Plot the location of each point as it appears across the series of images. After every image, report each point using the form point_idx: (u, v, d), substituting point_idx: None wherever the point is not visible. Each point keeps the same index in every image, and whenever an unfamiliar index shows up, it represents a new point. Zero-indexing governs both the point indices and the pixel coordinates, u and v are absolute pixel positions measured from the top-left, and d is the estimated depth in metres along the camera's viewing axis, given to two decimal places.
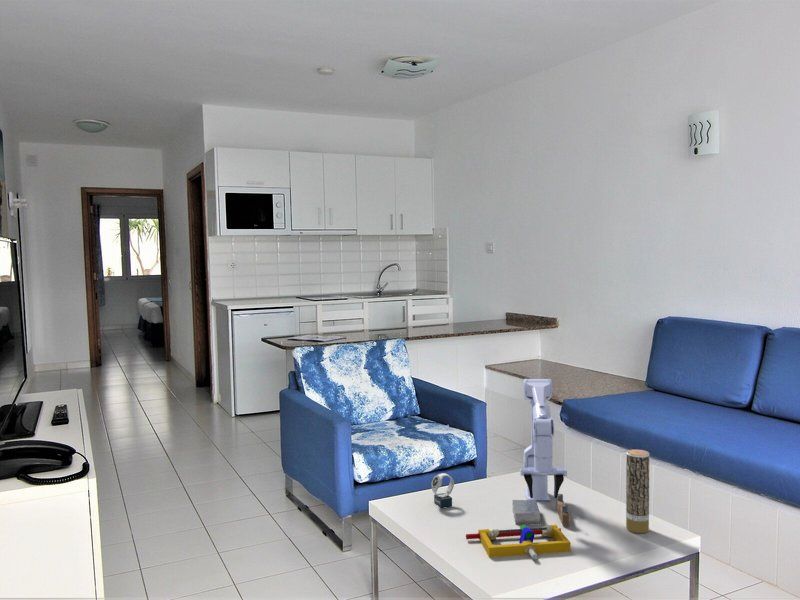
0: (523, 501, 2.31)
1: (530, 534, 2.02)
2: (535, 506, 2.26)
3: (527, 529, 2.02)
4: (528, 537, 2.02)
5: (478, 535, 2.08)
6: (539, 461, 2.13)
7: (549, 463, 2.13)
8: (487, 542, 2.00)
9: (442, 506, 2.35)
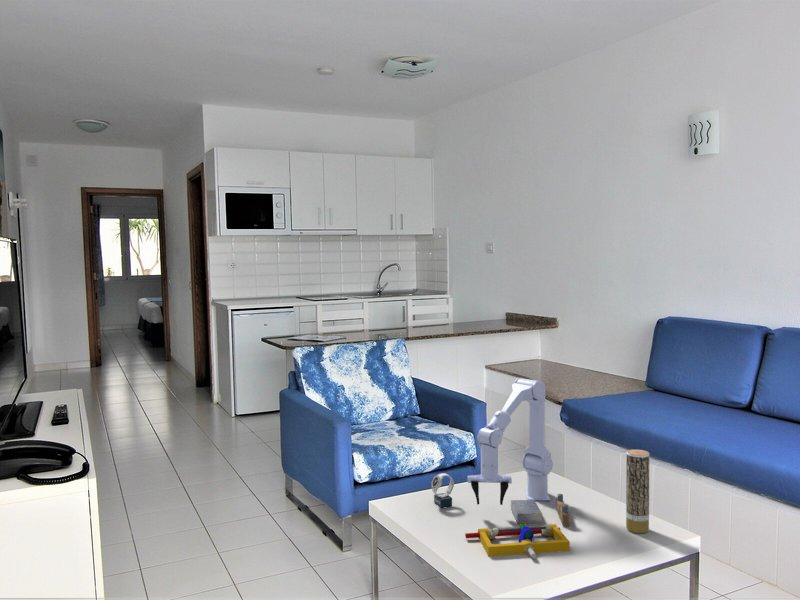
0: (521, 501, 2.31)
1: (529, 533, 2.02)
2: (535, 505, 2.26)
3: (526, 528, 2.03)
4: (527, 536, 2.02)
5: (477, 534, 2.08)
6: (485, 469, 2.23)
7: (494, 471, 2.23)
8: (486, 541, 2.01)
9: (442, 506, 2.35)
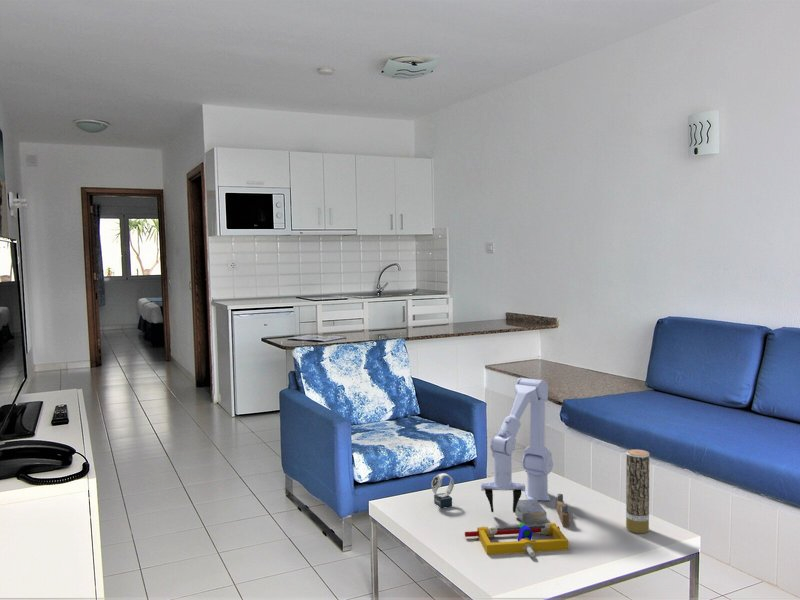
0: (523, 500, 2.31)
1: (528, 532, 2.03)
2: (538, 505, 2.26)
3: (525, 527, 2.03)
4: (526, 535, 2.03)
5: (477, 533, 2.09)
6: (499, 477, 2.23)
7: (508, 478, 2.23)
8: (485, 540, 2.02)
9: (442, 506, 2.35)
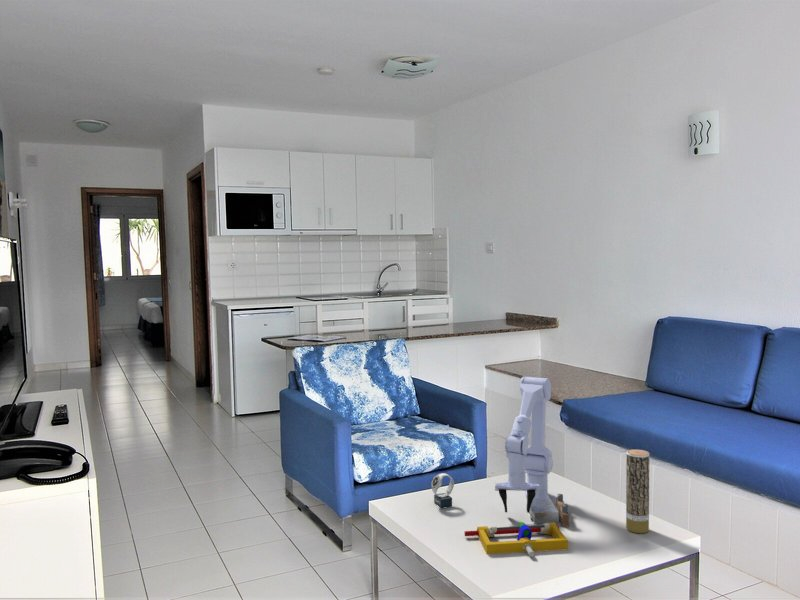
0: (537, 500, 2.31)
1: (528, 531, 2.04)
2: (552, 505, 2.26)
3: (525, 526, 2.04)
4: (526, 534, 2.04)
5: (477, 532, 2.10)
6: (513, 477, 2.23)
7: (522, 479, 2.23)
8: (485, 539, 2.02)
9: (442, 506, 2.35)
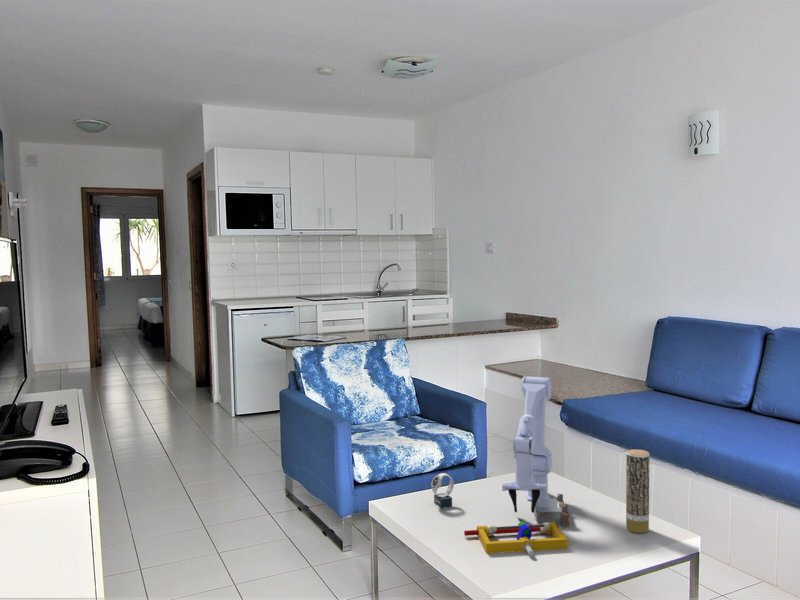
0: (543, 499, 2.31)
1: (527, 531, 2.04)
2: (556, 504, 2.26)
3: (524, 526, 2.04)
4: (525, 534, 2.04)
5: (476, 532, 2.10)
6: (520, 477, 2.22)
7: (529, 479, 2.22)
8: (485, 538, 2.03)
9: (442, 506, 2.35)
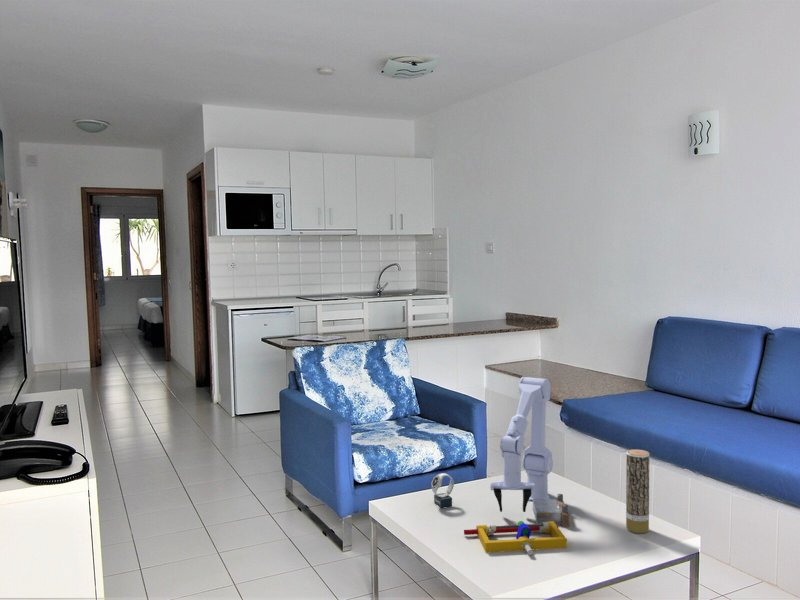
0: (543, 500, 2.31)
1: (527, 530, 2.05)
2: (556, 505, 2.26)
3: (524, 525, 2.05)
4: (525, 533, 2.05)
5: (476, 531, 2.11)
6: (508, 476, 2.23)
7: (517, 478, 2.23)
8: (484, 537, 2.03)
9: (442, 506, 2.35)
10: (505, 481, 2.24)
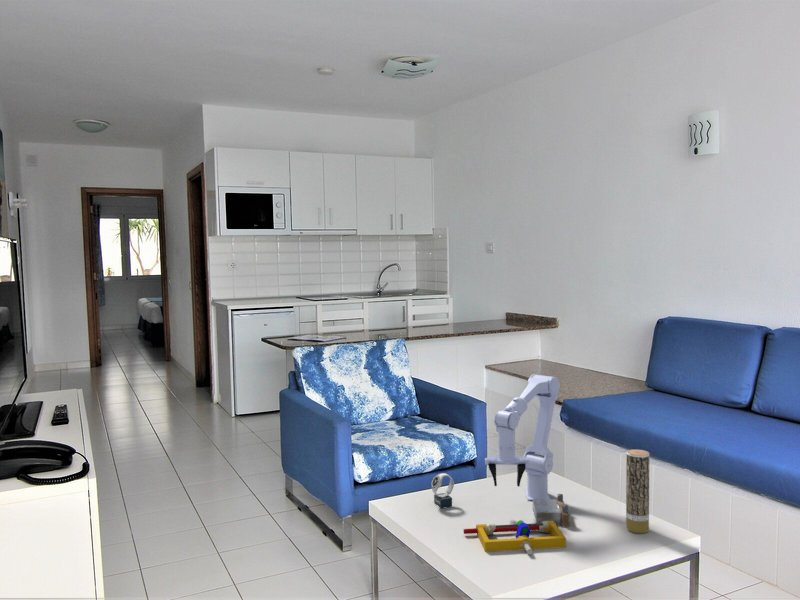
0: (543, 500, 2.31)
1: (526, 529, 2.05)
2: (556, 505, 2.26)
3: (523, 524, 2.05)
4: (524, 532, 2.05)
5: (475, 530, 2.12)
6: (502, 451, 2.26)
7: (512, 453, 2.26)
8: (483, 537, 2.04)
9: (442, 506, 2.35)
10: (500, 456, 2.27)
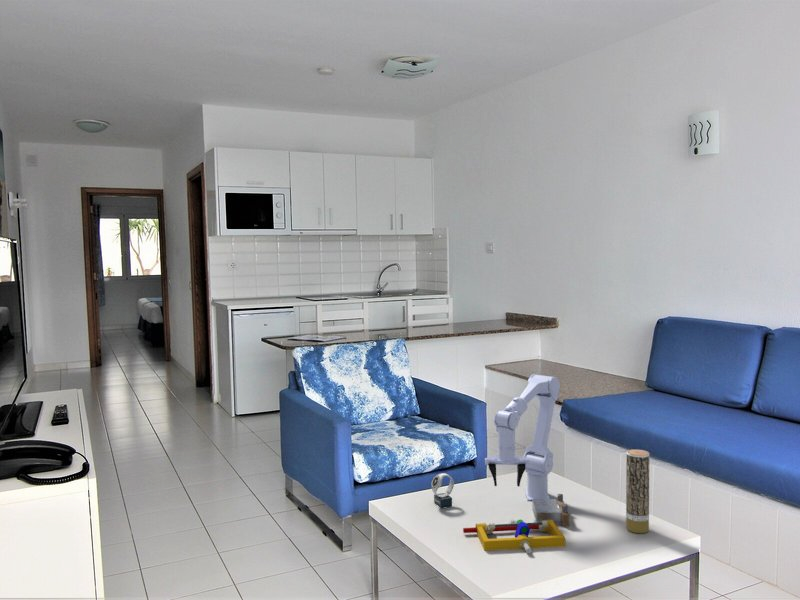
0: (543, 500, 2.31)
1: (525, 529, 2.06)
2: (556, 505, 2.26)
3: (522, 524, 2.06)
4: (523, 531, 2.06)
5: (475, 529, 2.12)
6: (502, 451, 2.26)
7: (512, 453, 2.26)
8: (483, 536, 2.05)
9: (442, 506, 2.35)
10: (500, 456, 2.27)
